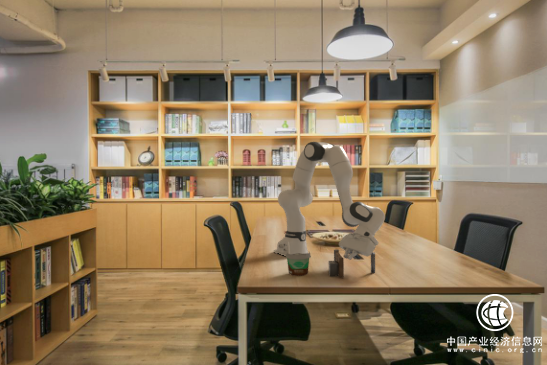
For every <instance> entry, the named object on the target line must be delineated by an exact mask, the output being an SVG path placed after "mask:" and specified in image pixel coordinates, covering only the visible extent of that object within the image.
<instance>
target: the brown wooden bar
mask: <svg viewBox="0 0 547 365" xmlns="http://www.w3.org/2000/svg"><path fill="white" fill-rule="evenodd" d="M344 259H345V258H344V257H342V255H341V253H340V250H339V251H335V261H337V262H338V263H339V276H338V277H339V278H345V277H344V276H345V271H344V270H345V268H344V266H345V264H344V263H345V262H344Z"/></svg>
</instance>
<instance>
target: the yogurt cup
mask: <svg viewBox="0 0 547 365" xmlns="http://www.w3.org/2000/svg"><path fill="white" fill-rule="evenodd" d="M311 257H312V255H311V252H310V251H308V253H306V254H302V253H296V254H288V253H287V254H286V257H285V258H286V262H287V270H288V274H289V275H290V274H291V275H290V276H295V277H303V276H307V275H308V274H309V267H310V265H309V264H310V258H311Z"/></svg>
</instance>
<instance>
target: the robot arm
mask: <svg viewBox="0 0 547 365" xmlns="http://www.w3.org/2000/svg"><path fill="white" fill-rule="evenodd" d="M303 148H304V149H303V150H302V151H301V152H300V154H299V156H298V158H297V162H296V164H295V167H294V171H293V174H292V180H293V181H294V189H286V190H283V191H281V192H280V193H279V194H278V196H277V202H278V204H279V206H280V207H281V208H282V209H283V211H284V214H285V218H286V230H284V237H283V238H281V239H280V240H279V241H278V243H277V246H276V249H274V250H273V251H274V252H276V253H275V254H277V253H279V254H281V255H280V256H282V255H284V256H286V254H287V253H288V254H296V253H302V254H306V253H309V249H308V247H307V246H308V243H307V230H306V217H305V216H304V214H302V211H301V208H305V207H307V206H309V205H311V204H312V202H313V200H314V197H313V194H312V192H311V183H312V179H313V176H314V172H315V169H316V166H317V164H318V163H326V164H327V165H328V168H329V171H330V173H331V176H332V178H333V182H334V184H335V187H336V191H337V194H338V198H339V201H340V205H341V212H342V213H341V220H342V221H343V223H344V224H345V225H346V226H347V227H350V228H355V230H354V231H353V233H352V232H351V233H348V234H345V235H344V236H343V237H342V238H341V239H340V241H339V242H338V246H339V248H340V249H341V250H345V251H344V254H343V258H344V259H348V260H349V261H351V260H352V259H353V258H354V257H356V256H357V255H361V256H364V257H371V254H372V252H374V251H375V249H376V246H378V245H379V241H378V239H377V238H376V237H375V235H376V233H377V232H378V231H380V228H381V227H382V226H383V224H384V222H385V219H386V215H385V212H384V211H383V210H382V209H381V208H380V207H377V206H370V205H368V204H366V203H364V202H361V201H353V198H352V194H351V190H350V189H351V188H350V187H351V182H352V180H353V176H354V171H353V166H352V163H351V161H350V158H349V156H348V154H347V153H346V151H345V149H344V148H343V146H340V145H335V144H332V143H328V142H324V141H321V142H320V141H319V142H318V141H310V142H308V143H307V144H306V145H305V146H304V147H303ZM274 252H273V253H274ZM279 254H278V255H279ZM284 256H283V257H284Z"/></svg>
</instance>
